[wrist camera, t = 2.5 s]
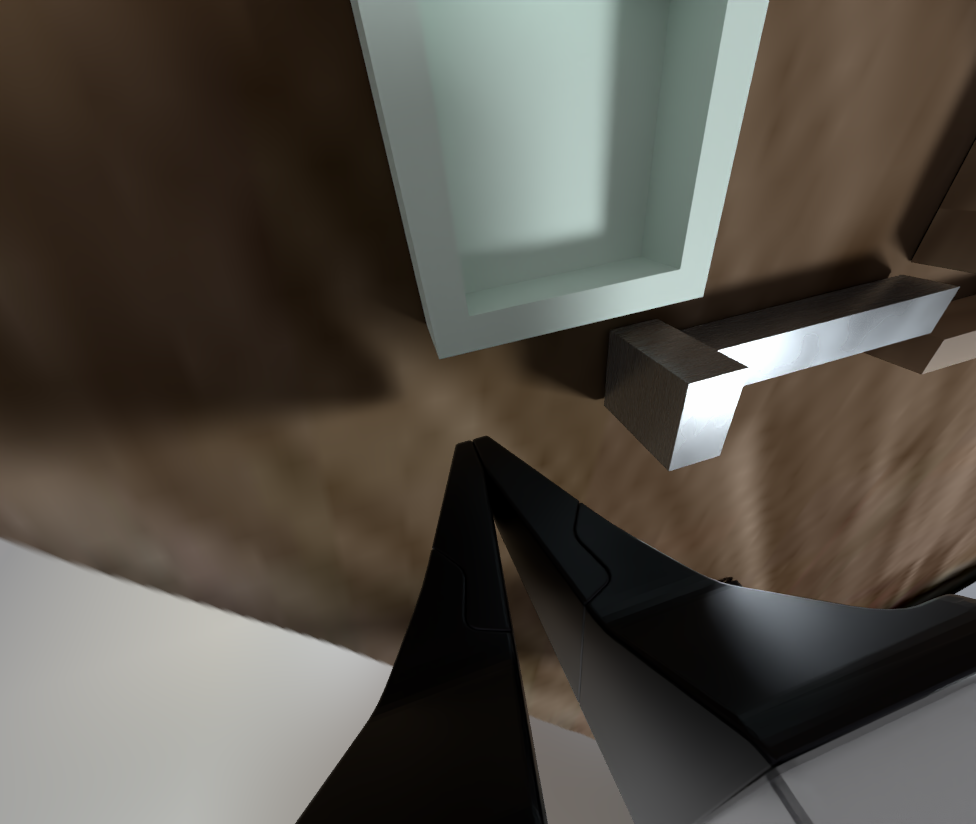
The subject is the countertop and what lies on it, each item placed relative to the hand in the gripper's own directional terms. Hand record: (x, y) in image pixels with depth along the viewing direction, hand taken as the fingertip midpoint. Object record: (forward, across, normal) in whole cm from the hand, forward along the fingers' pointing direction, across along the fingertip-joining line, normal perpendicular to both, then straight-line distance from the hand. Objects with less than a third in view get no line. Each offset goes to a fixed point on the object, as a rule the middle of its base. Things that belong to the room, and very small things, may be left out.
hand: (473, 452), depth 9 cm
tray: (+2, -3, -6) cm, 7 cm away
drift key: (+2, -12, 0) cm, 12 cm away
